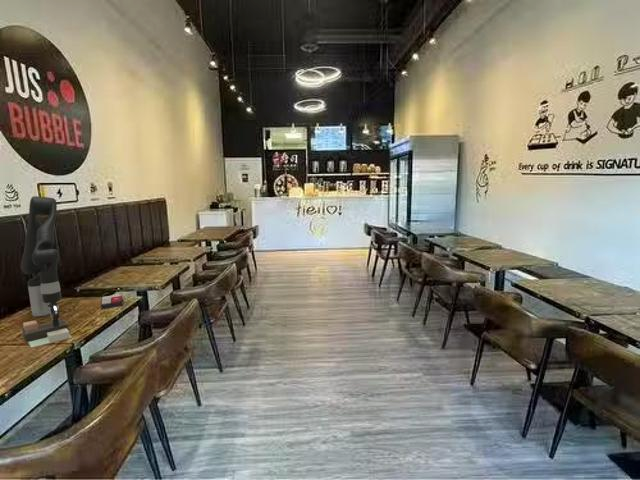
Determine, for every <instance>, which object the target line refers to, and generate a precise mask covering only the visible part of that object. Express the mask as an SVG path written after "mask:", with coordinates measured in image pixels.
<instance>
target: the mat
mask: <svg viewBox="0 0 640 480" xmlns="http://www.w3.org/2000/svg"><path fill="white" fill-rule="evenodd" d="M68 339H69V340H70V339H73V337H72V335H71V334H70V338H66V339H62V340H58V342H60V341H64V340H68ZM56 342H57V341H54V343H56ZM27 344H28V345H29V348H30V349H34V348H38V347H41V346H46V345H49V344H53V342H49V340H48V337H46V338H42V339H38V340H34V341H30V342H28V343H27ZM33 347H34V348H33Z"/></svg>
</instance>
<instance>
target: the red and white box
mask: <svg viewBox="0 0 640 480" xmlns="http://www.w3.org/2000/svg"><path fill="white" fill-rule="evenodd" d="M119 307H123V295H122V294H120V293H119V294H114V295H107V296H102V297H101V301H100V308H101V310H106V309H112V308H119Z"/></svg>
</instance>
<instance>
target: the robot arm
mask: <svg viewBox="0 0 640 480" xmlns="http://www.w3.org/2000/svg"><path fill="white" fill-rule="evenodd" d="M57 205H58V204H57V200H56V199H55V197H54V198H53V197H46V196H39V195H38V196H36V195H35V196H32V197H31V198H30V201H29V207H28V208H29V209H28V223H27V228H26V229H27V230H26V235H25V243H24V244H25V245H24V251H23V252H22V253H23V254H22V258H21V261H20V262H21V263H20V269H21V271H22V273H23V274H24V275H32V274H36V275H35V276H34V277H32V278H30V279H28V280H27V289H28V295H29V303H30V307H31V314H32V317H34V318H35V317H37V318H38V317H43V316H48V315H50V318H51V321H53V326H54V327H57V326H59V321H58V320H59V319H60V305H59V304H58V302H59V301H62V292H61V290H62V289H61V285H60V282H59V276H58V265H59V260H60V252H59V251H58V250H57V249H56V248H53V247H54V246H55V227H56V220H57V208H58V207H57ZM38 216H48V217H47V219H46V220H45V221H44V222H43V223H42V221H40V218H39V217H38ZM47 265H51V266H49V268H47Z"/></svg>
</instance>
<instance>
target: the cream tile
mask: <svg viewBox="0 0 640 480" xmlns="http://www.w3.org/2000/svg"><path fill="white" fill-rule="evenodd" d="M68 329H69V328H68ZM68 329H67V328H65V329H61V330H57V331H53V332H49V333H47V337H48V340H49V342H54V341H58V340H62V339H65V340H67V339H66V338H69V339H71V338H70V335H71V334H70V333H71V332H70V331H68ZM62 341H63V340H62ZM58 342H59V341H58ZM54 343H55V342H54Z"/></svg>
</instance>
